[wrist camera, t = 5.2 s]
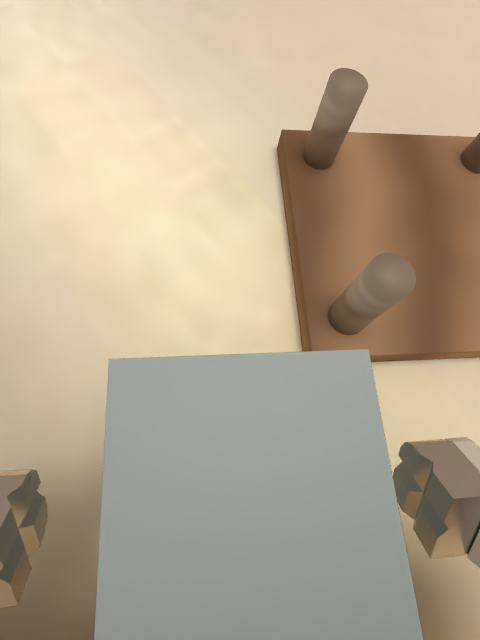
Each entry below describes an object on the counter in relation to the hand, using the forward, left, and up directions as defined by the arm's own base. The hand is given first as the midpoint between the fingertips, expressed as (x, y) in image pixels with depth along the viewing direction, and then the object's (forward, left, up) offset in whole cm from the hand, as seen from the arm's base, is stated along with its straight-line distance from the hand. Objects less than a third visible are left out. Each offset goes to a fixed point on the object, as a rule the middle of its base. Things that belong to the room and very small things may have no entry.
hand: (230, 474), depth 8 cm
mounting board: (+10, +10, -6) cm, 15 cm away
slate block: (0, 0, -6) cm, 6 cm away
